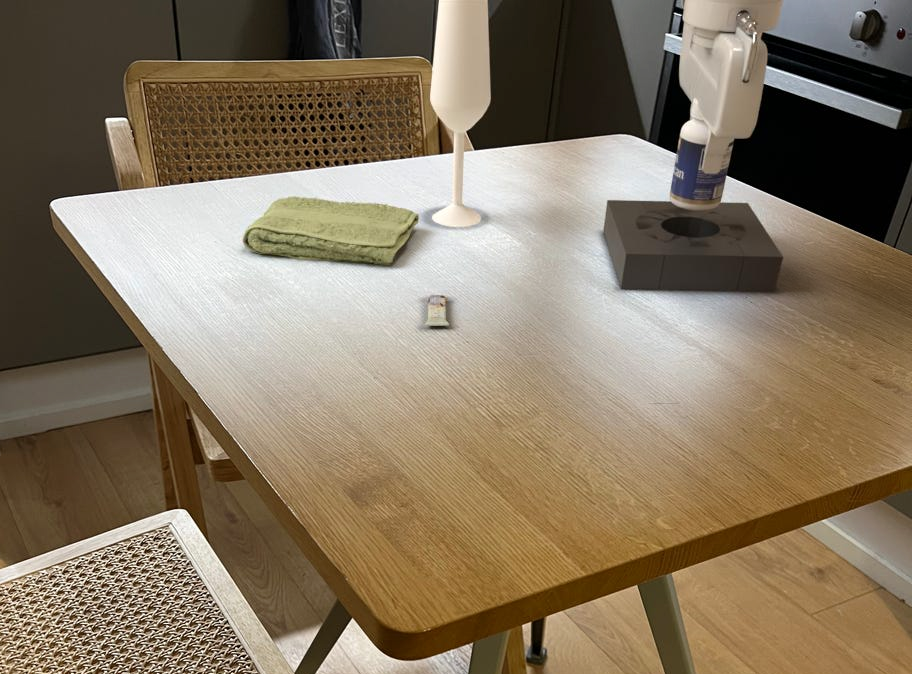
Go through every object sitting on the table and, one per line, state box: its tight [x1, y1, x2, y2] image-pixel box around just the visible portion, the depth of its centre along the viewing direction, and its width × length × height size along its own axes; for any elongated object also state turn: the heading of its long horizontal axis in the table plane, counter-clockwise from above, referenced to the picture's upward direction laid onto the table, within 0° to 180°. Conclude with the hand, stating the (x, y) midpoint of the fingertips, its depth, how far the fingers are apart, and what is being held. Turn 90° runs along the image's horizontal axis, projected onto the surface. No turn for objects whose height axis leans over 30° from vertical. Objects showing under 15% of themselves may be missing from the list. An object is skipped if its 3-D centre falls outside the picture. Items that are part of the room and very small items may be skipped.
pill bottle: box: [669, 98, 735, 210], centre depth 99 cm, size 5×5×10 cm
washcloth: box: [242, 195, 420, 266], centre depth 108 cm, size 13×18×3 cm
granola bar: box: [424, 294, 450, 327], centre depth 95 cm, size 7×2×1 cm, turn 0°
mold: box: [602, 199, 784, 294], centre depth 105 cm, size 16×16×4 cm
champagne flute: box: [429, 0, 492, 228], centre depth 107 cm, size 7×7×24 cm
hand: (702, 160), depth 99 cm, fingers closed on pill bottle, 5 cm apart
